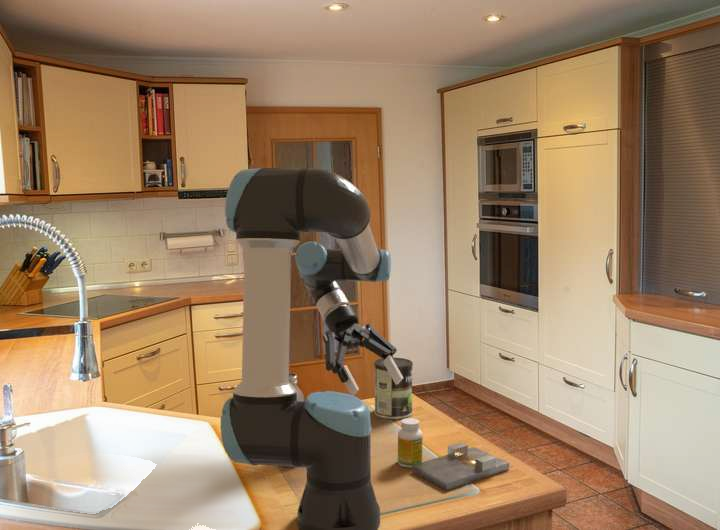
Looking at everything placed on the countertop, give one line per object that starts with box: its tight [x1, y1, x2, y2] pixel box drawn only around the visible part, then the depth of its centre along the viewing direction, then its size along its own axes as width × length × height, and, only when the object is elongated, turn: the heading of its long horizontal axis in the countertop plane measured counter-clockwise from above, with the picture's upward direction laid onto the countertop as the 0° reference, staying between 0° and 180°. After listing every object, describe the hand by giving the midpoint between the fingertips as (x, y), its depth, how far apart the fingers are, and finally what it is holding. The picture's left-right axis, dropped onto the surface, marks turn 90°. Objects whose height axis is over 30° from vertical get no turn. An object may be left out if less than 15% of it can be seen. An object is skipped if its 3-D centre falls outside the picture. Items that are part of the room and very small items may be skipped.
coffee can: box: [373, 357, 413, 420], centre depth 184 cm, size 10×10×14 cm
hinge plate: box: [411, 442, 510, 491], centre depth 147 cm, size 18×11×4 cm, turn 125°
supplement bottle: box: [397, 417, 423, 469], centre depth 151 cm, size 5×5×10 cm
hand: (378, 387), depth 158 cm, fingers open, 13 cm apart
